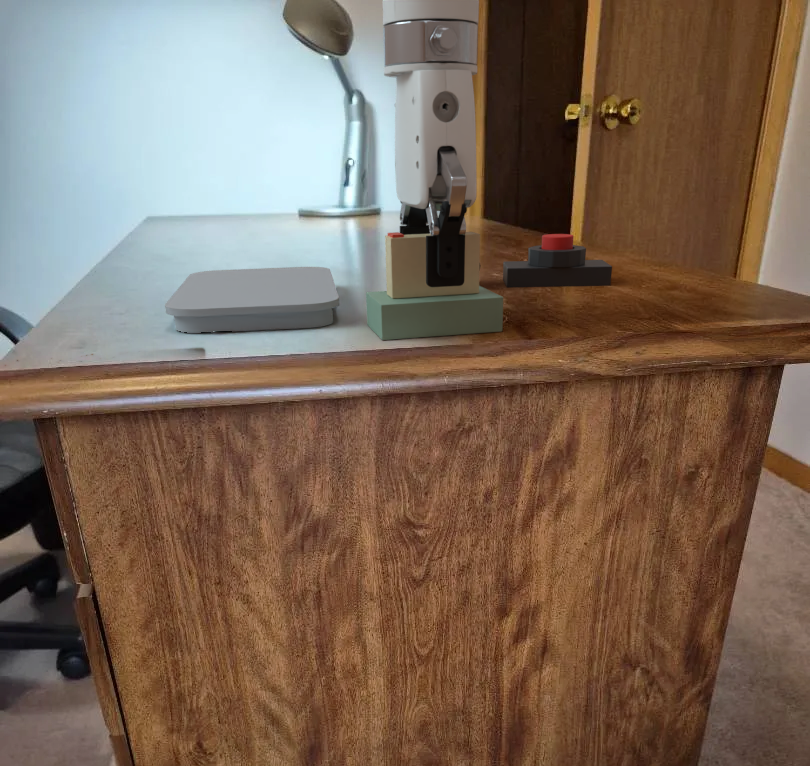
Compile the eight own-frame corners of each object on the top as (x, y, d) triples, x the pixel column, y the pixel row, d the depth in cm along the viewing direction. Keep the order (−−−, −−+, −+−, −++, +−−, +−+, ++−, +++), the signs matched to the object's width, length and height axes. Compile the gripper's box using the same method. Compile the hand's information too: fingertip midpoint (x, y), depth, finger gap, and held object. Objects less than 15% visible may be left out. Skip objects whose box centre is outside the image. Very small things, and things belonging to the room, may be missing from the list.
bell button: (569, 249, 94) (571, 233, 94) (574, 252, 91) (575, 236, 90) (539, 249, 94) (540, 234, 94) (543, 253, 91) (544, 237, 90)
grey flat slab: (163, 336, 72) (159, 310, 71) (195, 290, 95) (192, 271, 94) (341, 327, 74) (340, 302, 73) (330, 285, 97) (329, 265, 96)
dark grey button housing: (600, 278, 97) (603, 243, 95) (611, 286, 91) (614, 249, 89) (502, 279, 98) (503, 245, 96) (506, 288, 92) (508, 252, 90)
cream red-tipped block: (471, 289, 73) (472, 228, 71) (479, 293, 71) (480, 231, 69) (386, 294, 71) (384, 232, 69) (392, 298, 69) (390, 235, 67)
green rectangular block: (478, 317, 77) (479, 285, 75) (502, 331, 70) (503, 297, 69) (367, 324, 74) (365, 292, 73) (382, 340, 68) (380, 304, 67)
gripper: (512, 41, 56) (502, 290, 64) (446, 64, 71) (444, 264, 79) (409, 40, 55) (412, 295, 62) (364, 64, 70) (371, 267, 77)
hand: (430, 277), depth 70 cm, fingers open, 9 cm apart
